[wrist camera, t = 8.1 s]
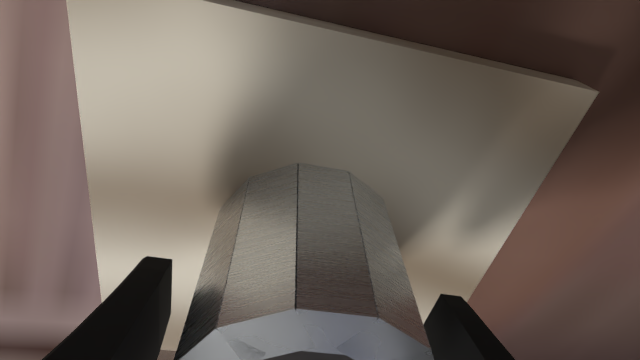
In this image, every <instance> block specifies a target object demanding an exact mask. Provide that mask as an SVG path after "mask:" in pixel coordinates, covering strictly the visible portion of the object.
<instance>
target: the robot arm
mask: <svg viewBox="0 0 640 360" xmlns="http://www.w3.org/2000/svg"><path fill="white" fill-rule="evenodd" d="M171 297H172V259H166V258H158V257H151V256H146V257H145V258H143V259H142V260H141V261H140V262H139V263H138V264H137V266H136V267H135V268H134V269H133V270H132V271H131V272H130V274H129V275H128V276H127V277H126V278H125V279H124V280H123V281H122V282H121V283H120V285H119V286H118V287H117V288H116V289H115V290H114V291H113V292H112V293H111V294H110V295H109V296H108V297H107V298H106V299H105V300H104V301H103V302H102V303H101V304H100V305H99V306H98V307H97V308H96V309H95V310H94V311H93V312H92V313H91V314H90V315H89V316H88V317H87V318H86V319H85V320H84V321H83V322H82V323H81V324H80V325H79V326H78V327H77V328H76V329H75V330H74V331H73V332H72V333H71V334H70V335H69V336H68V337H66V338H65V339H64V340H63V341H62V342H61V343H60V344H59V345H58V346H57V347H55V348H54V349H53V350H52V351H51V352H50V353H49V354H48V355H47V356H45V357H44V358H43V359H42V360H157V358H158V355H159V352H160V349H161V346H162V342H163V339H164V336H165V332H166V329H167V325H168V322H169V319H170V315H171ZM423 325H424V328H425V332H426V335H427V338H428V341H429V344H430V347H431V351H432V354H433V358H434V360H515V359H514V358H513V357H512V356H511V354H510V353H509V352H508V351H507V350H506V349H505V347H504V346H503V345H502V344H501V343H500V341H499V340H498V339H497V338H496V337H495V335H494V334H493V333H492V332H491V331H490V329H489V328H488V327H487V326H486V325H485V323H484V322H483V321H482V320H481V319H480V318H479V316H478V315H477V314H476V313H475V312H474V310H473V309H472V308H471V307H470V306H469V305H468V303H467V302H466V301H465V300H464V299H463V298H462V297H461V296H455V295H447V294H440V296H439V298H438V299H437V301H436V303H435V305H434V307H433V308H432V310H431V312H430V314H429V315H428V317H427V319H426V321H425V322H424V324H423Z"/></svg>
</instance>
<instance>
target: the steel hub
mask: <svg viewBox="0 0 640 360" xmlns="http://www.w3.org/2000/svg"><path fill="white" fill-rule="evenodd" d="M298 351H308V352H319V353H330V354H340V355H346V356H348V357H350V358H352V359H354V360H434V358H433V354H432V351H431V347H430V344H429V341H428V338H427V335H426V332H425V328H424V325H423V322H422V319H421V316H420V313H419V310H418V306H417V303H416V300H415V297H414V294H413V291H412V287H411V284H410V281H409V278H408V275H407V272H406V268H405V265H404V262H403V259H402V256H401V253H400V250H399V246H398V243H397V240H396V237H395V234H394V231H393V227H392V224H391V221H390V218H389V215H388V212H387V209H386V205H385V202H384V199H383V198H382V197H381V196H380V195H378V194H377V193H376V192H375V191H373V190H372V189H371V188H370V187H368V186H367V185H366V184H364V183H363V182H362V181H361V180H359V179H358V178H357V177H356V176H354V175H353V174H352V173H351V172H348V171H346V170H340V169H334V168H328V167H322V166H316V165H310V164H304V163H295V164H291V165H288V166H285V167H281V168H278V169H275V170H271V171H268V172H265V173H261V174H258V175H255V176H251V177H250V178H248V179H247V180H246V181H245V182H244V183H243V184H242V186H241V187H240V188H239V189H238V190H237V191H236V192H235V193H234V194H233V195H232V196H231V197H230V198H229V199H228V200H227V201H226V203H225V204H224V205H223V206H222V207H221V208H220V210H219V213H218V217H217V220H216V223H215V226H214V230H213V233H212V236H211V240H210V243H209V246H208V249H207V253H206V256H205V259H204V262H203V266H202V269H201V272H200V275H199V279H198V282H197V285H196V288H195V292H194V295H193V298H192V302H191V305H190V308H189V311H188V315H187V318H186V321H185V324H184V328H183V331H182V334H181V337H180V341H179V344H178V347H177V350H176V354H175V357H174V360H263V359H267V358H272V357H276V356H280V355H285V354H289V353H293V352H298Z"/></svg>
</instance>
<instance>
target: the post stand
mask: <svg viewBox="0 0 640 360" xmlns="http://www.w3.org/2000/svg"><path fill="white" fill-rule="evenodd" d="M66 2H67V11H68V19H69V28H70V36H71V45H72V53H73V62H74V70H75V79H76V87H77V96H78V104H79V113H80V121H81V130H82V138H83V147H84V155H85V164H86V172H87V180H88V189H89V197H90V206H91V214H92V223H93V231H94V240H95V248H96V257H97V265H98V274H99V282H100V291H101V299H102V302H103V301H104V300H105V299H106V298H107V297H108V296H109V295H110V294H111V293H112V292H113V291H114V290H115V289H116V288H117V287H118V286H119V285H120V283H121V282H122V281H123V280H124V279H125V278H126V277H127V276H128V275H129V274H130V272H131V271H132V270H133V269H134V268H135V267H136V266H137V264H138V263H139V262H140V261H141V260H142V259H143V258H145V257H146V256H151V257H158V258H166V259H172V297H171V315H170V319H169V322H168V325H167V329H166V332H165V336H164V339H163V342H162V346H161V349H160V350H171V351H176V350H177V347H178V344H179V341H180V337H181V334H182V331H183V328H184V324H185V321H186V318H187V315H188V311H189V308H190V305H191V302H192V298H193V295H194V292H195V288H196V285H197V282H198V279H199V275H200V272H201V269H202V266H203V262H204V259H205V256H206V253H207V249H208V246H209V243H210V240H211V236H212V233H213V230H214V226H215V223H216V220H217V217H218V213H219V210H220V208H221V207H222V206H223V205H224V204H225V203H226V201H227V200H228V199H229V198H230V197H231V196H232V195H233V194H234V193H235V192H236V191H237V190H238V189H239V188H240V187H241V186H242V184H243V183H244V182H245V181H246V180H247V179H248V178H250V177H251V176H255V175H258V174H261V173H265V172H268V171H271V170H275V169H278V168H281V167H285V166H288V165H291V164H295V163H304V164H310V165H316V166H322V167H328V168H334V169H340V170H346V171H348V172H351V173H352V174H353V175H354V176H356V177H357V178H358V179H359V180H361V181H362V182H363V183H364V184H366V185H367V186H368V187H370V188H371V189H372V190H373V191H375V192H376V193H377V194H378V195H380V196H381V197H382V198H383V199H384V202H385V205H386V209H387V212H388V215H389V218H390V221H391V224H392V227H393V231H394V234H395V237H396V240H397V243H398V246H399V250H400V253H401V256H402V259H403V262H404V265H405V268H406V272H407V275H408V278H409V281H410V284H411V287H412V291H413V294H414V297H415V300H416V303H417V306H418V310H419V313H420V316H421V319H422V322H423V324H424V322H425V321H426V319H427V317H428V315H429V314H430V312H431V310H432V308H433V307H434V305H435V303H436V301H437V299H438V298H439V296H440V294H447V295H455V296H461V297H462V298H463V299H464V300H465V301H466V302H467V301H468V299H469V298H470V296H471V294H472V293H473V291H474V290H475V288H476V286H477V285H478V283H479V282H480V280H481V279H482V277H483V275H484V274H485V272H486V271H487V269H488V267H489V266H490V264H491V263H492V261H493V260H494V258H495V256H496V255H497V253H498V252H499V250H500V248H501V247H502V245H503V244H504V242H505V241H506V239H507V237H508V236H509V234H510V233H511V231H512V229H513V228H514V226H515V225H516V223H517V221H518V220H519V218H520V217H521V215H522V214H523V212H524V210H525V209H526V207H527V206H528V204H529V202H530V201H531V199H532V198H533V196H534V195H535V193H536V191H537V190H538V188H539V187H540V185H541V183H542V182H543V180H544V179H545V177H546V176H547V174H548V172H549V171H550V169H551V168H552V166H553V164H554V163H555V161H556V160H557V158H558V156H559V155H560V153H561V152H562V150H563V149H564V147H565V145H566V144H567V142H568V141H569V139H570V137H571V136H572V134H573V133H574V131H575V130H576V128H577V126H578V125H579V123H580V122H581V120H582V118H583V117H584V115H585V114H586V112H587V111H588V109H589V107H590V106H591V104H592V103H593V101H594V99H595V98H596V96H597V95H598V93H599V92H598V91H596V90H595V89H593V88H591V87H589V86H587V85H585V84H583V83H581V82H579V81H577V80H574V79H569V78H565V77H561V76H556V75H552V74H548V73H544V72H539V71H535V70H531V69H526V68H522V67H518V66H514V65H509V64H505V63H501V62H496V61H492V60H488V59H484V58H479V57H475V56H471V55H467V54H462V53H458V52H454V51H449V50H445V49H441V48H437V47H432V46H428V45H424V44H419V43H415V42H411V41H407V40H402V39H398V38H394V37H389V36H385V35H381V34H377V33H372V32H368V31H364V30H359V29H355V28H351V27H347V26H342V25H338V24H334V23H329V22H325V21H321V20H317V19H312V18H308V17H304V16H300V15H295V14H291V13H287V12H282V11H278V10H274V9H270V8H265V7H261V6H257V5H252V4H248V3H244V2H240V1H235V0H66ZM263 360H354V359H352V358H350V357H348V356H346V355H340V354H330V353H319V352H308V351H298V352H293V353H289V354H285V355H280V356H276V357H272V358H267V359H263Z"/></svg>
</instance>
